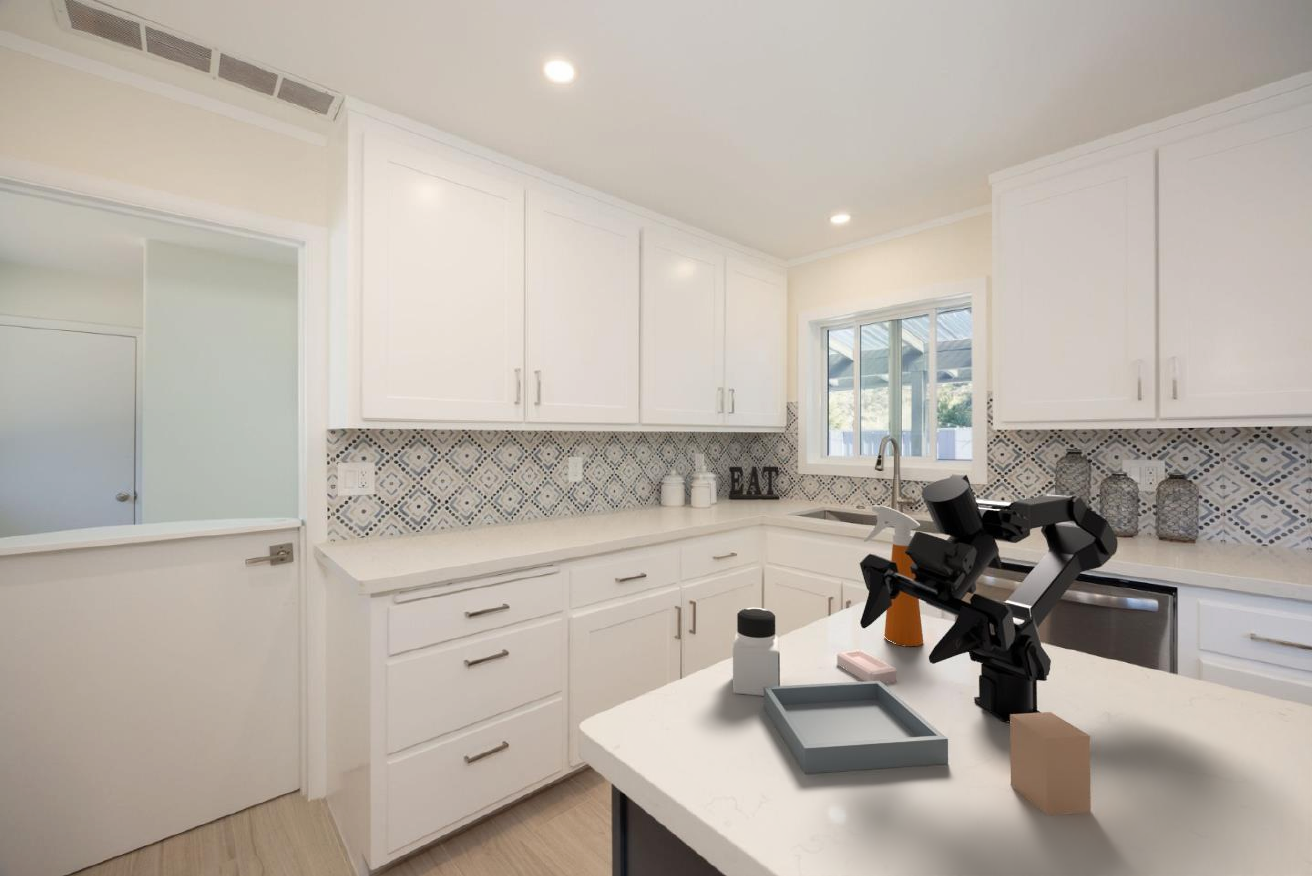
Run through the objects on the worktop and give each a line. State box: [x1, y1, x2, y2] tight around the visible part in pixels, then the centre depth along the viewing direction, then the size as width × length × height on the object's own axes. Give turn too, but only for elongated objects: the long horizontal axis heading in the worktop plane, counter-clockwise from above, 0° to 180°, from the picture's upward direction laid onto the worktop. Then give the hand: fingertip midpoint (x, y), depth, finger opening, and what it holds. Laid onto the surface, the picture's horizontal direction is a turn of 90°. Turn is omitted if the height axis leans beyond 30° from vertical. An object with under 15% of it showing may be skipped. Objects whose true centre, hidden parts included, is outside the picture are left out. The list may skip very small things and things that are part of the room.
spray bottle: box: [863, 504, 924, 647], centre depth 107 cm, size 7×11×26 cm, turn 55°
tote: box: [763, 681, 949, 775], centre depth 72 cm, size 18×16×3 cm
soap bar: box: [836, 649, 897, 684], centre depth 91 cm, size 5×9×2 cm, turn 19°
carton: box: [1009, 711, 1092, 816], centre depth 59 cm, size 5×5×8 cm
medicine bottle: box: [732, 607, 781, 697], centre depth 86 cm, size 7×7×12 cm
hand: (894, 642), depth 66 cm, fingers open, 9 cm apart
